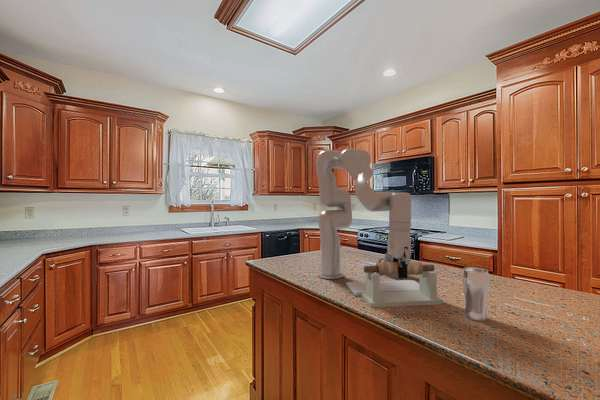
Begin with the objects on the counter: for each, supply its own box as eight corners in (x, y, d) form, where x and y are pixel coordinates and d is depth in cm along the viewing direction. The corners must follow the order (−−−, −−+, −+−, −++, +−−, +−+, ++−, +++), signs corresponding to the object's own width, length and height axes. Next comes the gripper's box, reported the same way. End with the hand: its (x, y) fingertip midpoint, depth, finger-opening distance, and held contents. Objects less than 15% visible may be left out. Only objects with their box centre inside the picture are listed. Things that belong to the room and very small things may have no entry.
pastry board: (346, 284, 119) (346, 282, 119) (412, 282, 122) (412, 279, 122) (355, 295, 106) (355, 292, 106) (429, 292, 109) (429, 289, 109)
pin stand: (361, 296, 105) (361, 268, 105) (426, 294, 107) (426, 266, 107) (370, 307, 95) (370, 276, 95) (442, 304, 97) (442, 273, 97)
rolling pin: (365, 278, 99) (367, 268, 97) (361, 270, 103) (363, 259, 101) (434, 277, 101) (437, 266, 99) (427, 268, 106) (430, 258, 104)
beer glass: (493, 323, 83) (493, 273, 82) (467, 321, 84) (467, 272, 84) (482, 313, 90) (483, 267, 89) (459, 311, 91) (459, 266, 91)
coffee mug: (410, 275, 132) (410, 254, 132) (400, 280, 126) (399, 258, 126) (385, 270, 142) (385, 250, 142) (374, 274, 136) (374, 253, 136)
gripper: (380, 223, 109) (380, 269, 110) (400, 229, 92) (399, 283, 93) (399, 223, 110) (398, 268, 110) (422, 229, 93) (420, 282, 93)
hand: (399, 275), depth 102 cm, fingers closed on rolling pin, 4 cm apart
